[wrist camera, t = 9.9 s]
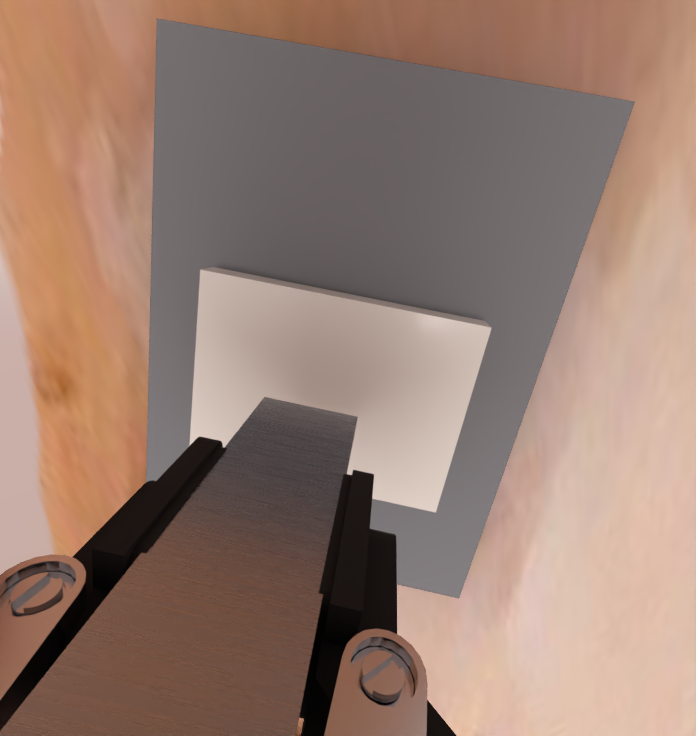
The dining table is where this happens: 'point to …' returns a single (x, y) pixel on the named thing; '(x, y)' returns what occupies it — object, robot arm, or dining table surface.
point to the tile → (339, 373)
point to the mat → (373, 226)
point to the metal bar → (213, 599)
